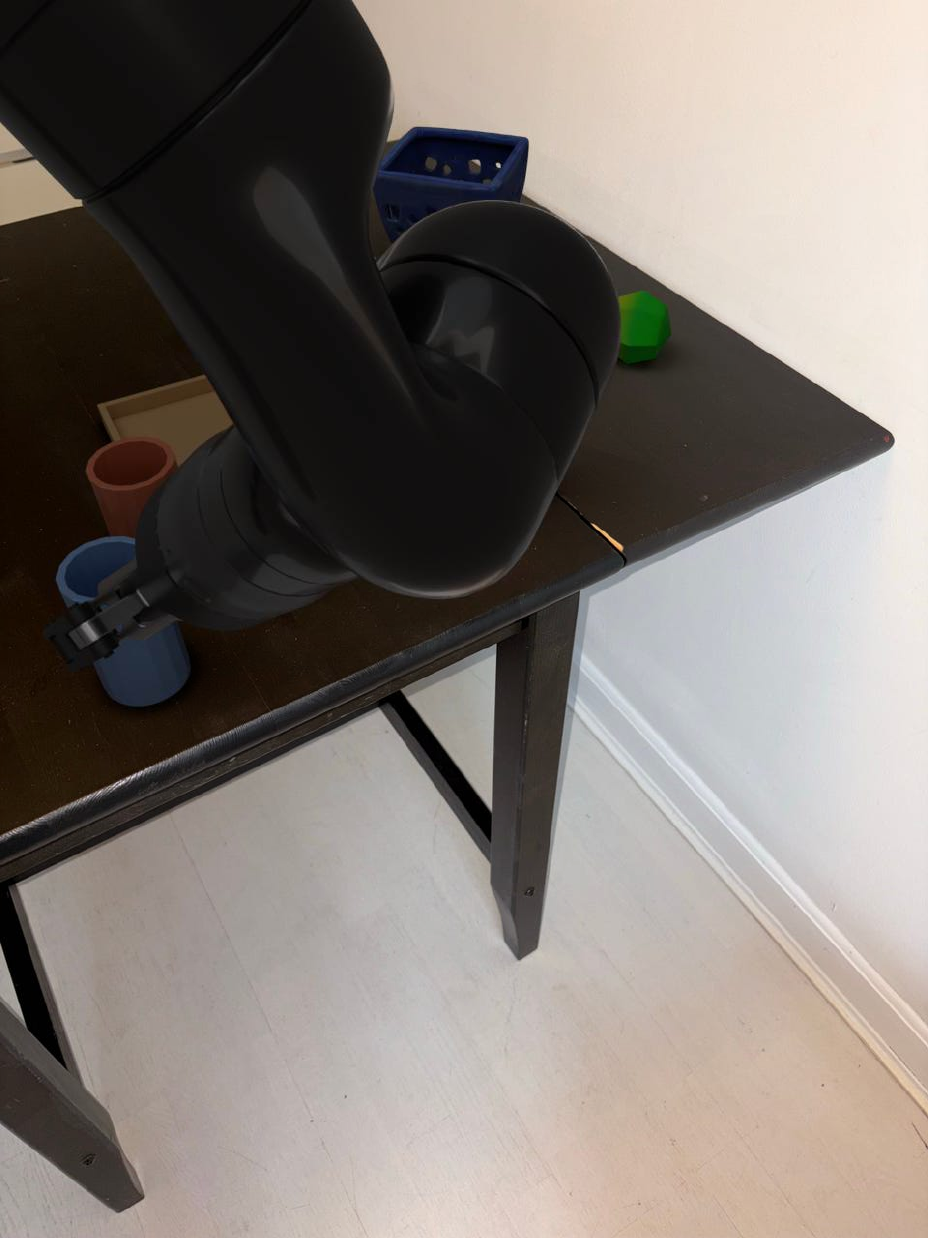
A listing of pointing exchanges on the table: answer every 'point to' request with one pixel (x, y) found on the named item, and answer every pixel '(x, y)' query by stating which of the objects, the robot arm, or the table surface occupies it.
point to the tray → (168, 415)
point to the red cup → (128, 479)
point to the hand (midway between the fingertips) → (155, 589)
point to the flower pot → (429, 190)
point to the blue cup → (135, 665)
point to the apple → (642, 327)
